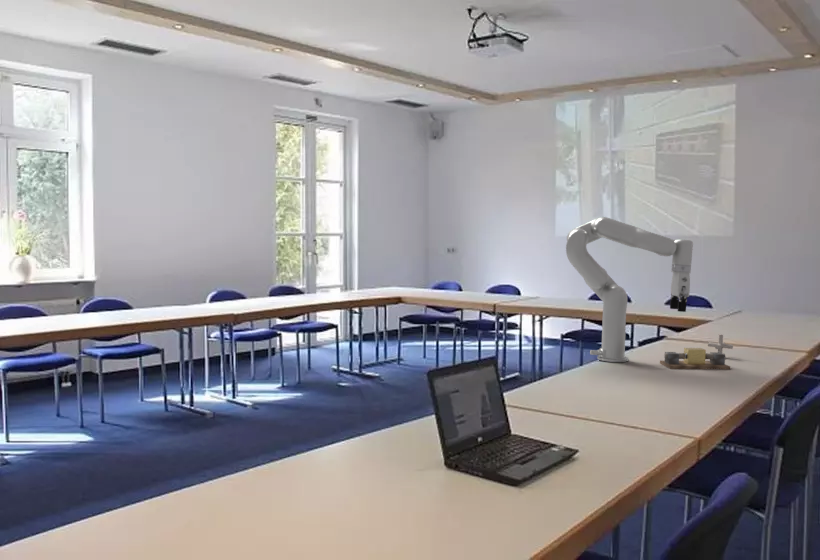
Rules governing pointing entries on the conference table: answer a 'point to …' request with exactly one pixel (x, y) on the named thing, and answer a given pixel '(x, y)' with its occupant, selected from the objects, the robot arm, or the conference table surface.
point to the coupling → (694, 356)
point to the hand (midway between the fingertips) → (677, 310)
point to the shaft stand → (673, 363)
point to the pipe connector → (720, 344)
